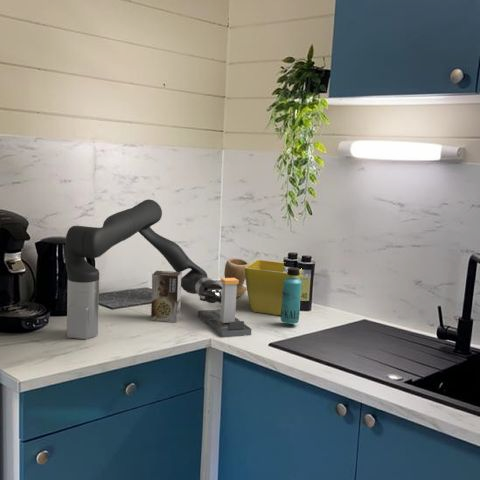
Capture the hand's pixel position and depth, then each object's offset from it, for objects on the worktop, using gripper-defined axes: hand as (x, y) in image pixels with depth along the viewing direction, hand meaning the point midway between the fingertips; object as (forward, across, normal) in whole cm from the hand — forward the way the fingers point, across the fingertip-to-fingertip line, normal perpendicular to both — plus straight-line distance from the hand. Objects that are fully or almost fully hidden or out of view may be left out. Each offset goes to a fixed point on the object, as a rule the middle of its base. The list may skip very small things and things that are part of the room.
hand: (226, 302), depth 199 cm
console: (-2, 0, +8) cm, 9 cm away
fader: (+1, 0, +6) cm, 6 cm away
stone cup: (-40, +20, +9) cm, 46 cm away
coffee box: (-13, -17, +9) cm, 23 cm away
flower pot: (-16, +26, +9) cm, 32 cm away
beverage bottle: (+3, +23, +9) cm, 24 cm away
